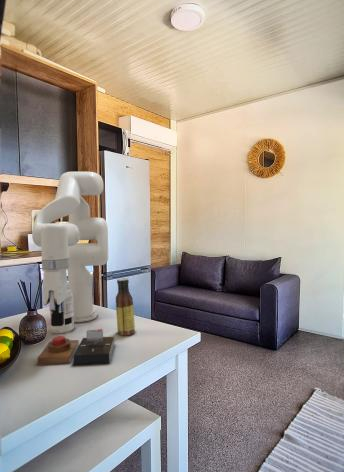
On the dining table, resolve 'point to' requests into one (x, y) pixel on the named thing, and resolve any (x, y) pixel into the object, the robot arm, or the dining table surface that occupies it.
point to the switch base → (94, 352)
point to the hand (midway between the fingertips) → (57, 325)
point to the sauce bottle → (124, 308)
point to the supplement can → (66, 316)
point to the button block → (58, 353)
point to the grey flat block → (95, 337)
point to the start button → (59, 340)
